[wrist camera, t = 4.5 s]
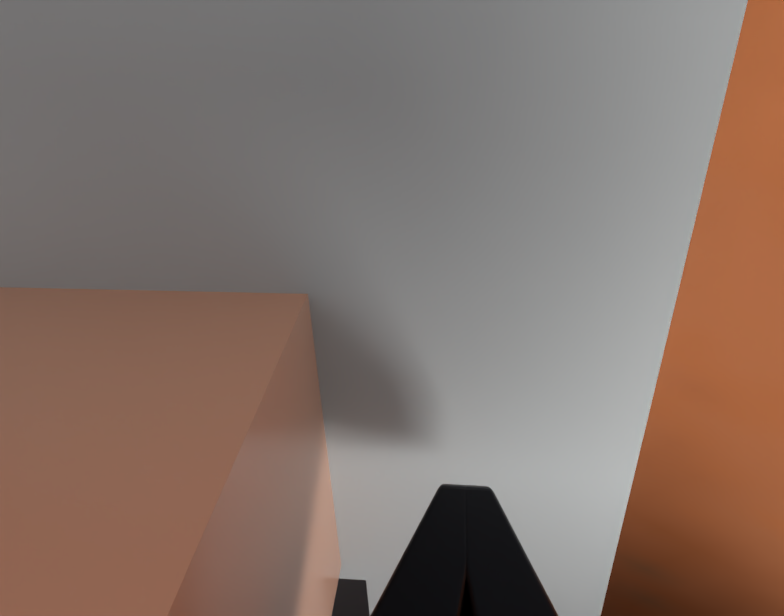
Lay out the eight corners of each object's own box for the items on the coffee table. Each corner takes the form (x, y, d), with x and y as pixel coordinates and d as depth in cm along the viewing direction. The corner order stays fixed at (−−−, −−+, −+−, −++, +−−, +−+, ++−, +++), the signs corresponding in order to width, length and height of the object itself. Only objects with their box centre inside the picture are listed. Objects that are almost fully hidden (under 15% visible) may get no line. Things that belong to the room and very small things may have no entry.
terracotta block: (308, 293, 8) (149, 656, 4) (341, 565, 11) (270, 931, 7) (-85, 285, 9) (-576, 594, 5) (48, 545, 12) (-176, 871, 8)
